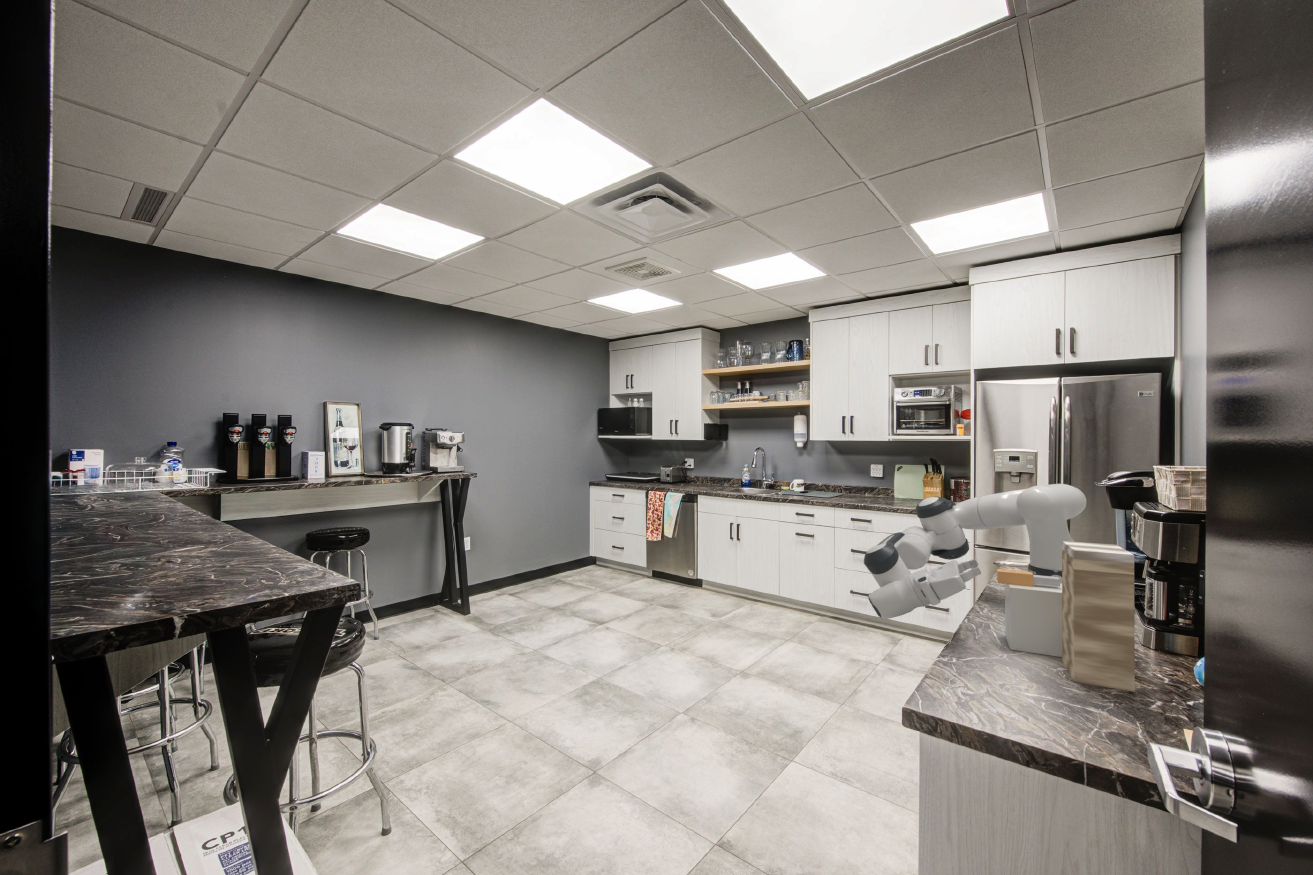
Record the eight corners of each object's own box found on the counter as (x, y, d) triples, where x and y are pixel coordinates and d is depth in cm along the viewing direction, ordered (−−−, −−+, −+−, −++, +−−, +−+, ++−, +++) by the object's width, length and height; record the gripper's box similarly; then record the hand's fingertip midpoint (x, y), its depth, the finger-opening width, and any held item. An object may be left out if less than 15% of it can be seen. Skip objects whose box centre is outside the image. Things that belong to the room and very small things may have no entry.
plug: (996, 580, 140) (996, 568, 140) (1057, 586, 135) (1057, 574, 135) (998, 583, 138) (998, 571, 138) (1060, 589, 132) (1060, 577, 132)
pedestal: (1005, 636, 143) (1005, 578, 143) (1070, 645, 136) (1070, 584, 136) (1010, 649, 134) (1010, 587, 134) (1080, 659, 127) (1080, 594, 127)
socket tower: (1062, 661, 126) (1062, 541, 127) (1116, 669, 122) (1116, 544, 122) (1074, 682, 116) (1074, 550, 116) (1134, 692, 111) (1134, 554, 111)
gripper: (933, 587, 155) (982, 568, 150) (934, 607, 137) (989, 586, 131) (921, 567, 156) (969, 547, 151) (920, 584, 138) (974, 562, 133)
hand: (978, 565), depth 141 cm, fingers open, 8 cm apart
